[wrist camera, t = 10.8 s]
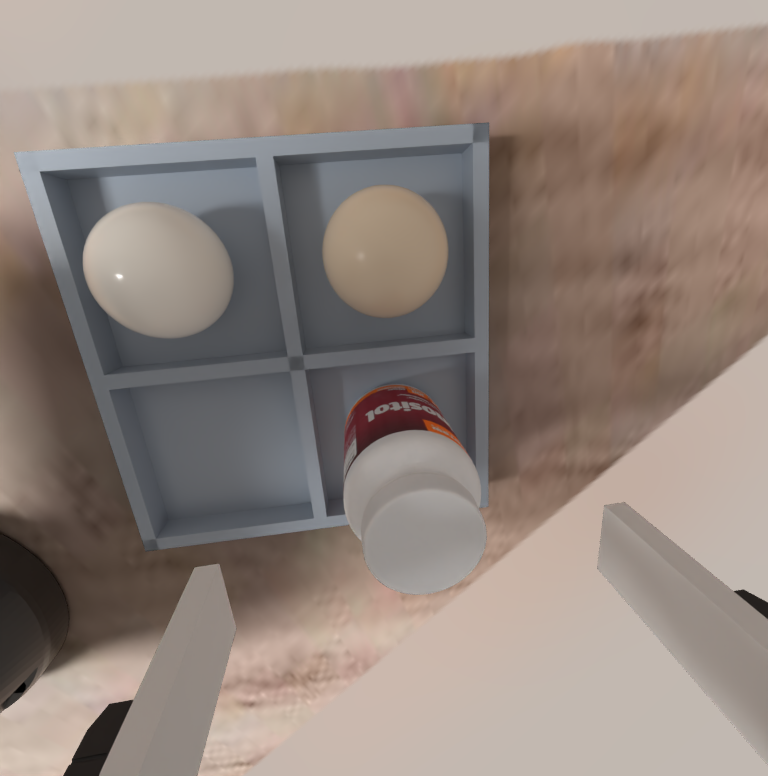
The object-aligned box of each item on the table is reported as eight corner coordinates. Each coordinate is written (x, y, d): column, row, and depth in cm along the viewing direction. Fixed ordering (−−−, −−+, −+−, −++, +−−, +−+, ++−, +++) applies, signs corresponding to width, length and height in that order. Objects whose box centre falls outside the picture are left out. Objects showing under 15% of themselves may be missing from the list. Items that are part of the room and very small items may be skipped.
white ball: (146, 333, 22) (75, 357, 16) (114, 215, 20) (21, 195, 14) (256, 322, 22) (225, 343, 16) (234, 206, 20) (191, 184, 14)
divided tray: (164, 524, 26) (145, 551, 24) (55, 166, 20) (13, 152, 17) (475, 485, 28) (488, 506, 25) (472, 139, 21) (489, 122, 18)
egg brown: (332, 315, 22) (327, 333, 17) (318, 200, 20) (308, 175, 15) (435, 305, 23) (466, 319, 17) (430, 192, 21) (463, 165, 15)
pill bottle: (450, 388, 24) (530, 481, 14) (429, 475, 26) (485, 616, 16) (351, 373, 23) (358, 460, 13) (336, 464, 25) (331, 606, 15)
